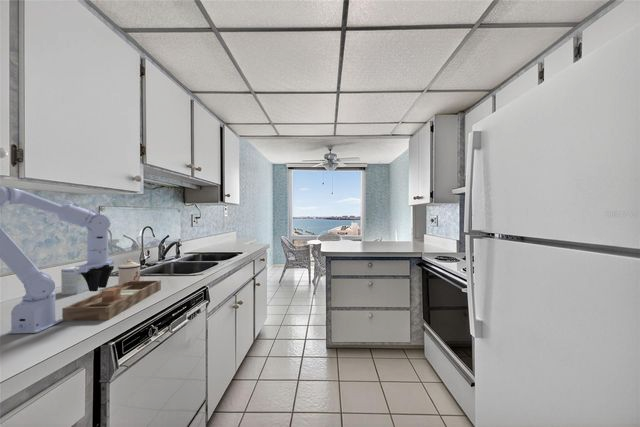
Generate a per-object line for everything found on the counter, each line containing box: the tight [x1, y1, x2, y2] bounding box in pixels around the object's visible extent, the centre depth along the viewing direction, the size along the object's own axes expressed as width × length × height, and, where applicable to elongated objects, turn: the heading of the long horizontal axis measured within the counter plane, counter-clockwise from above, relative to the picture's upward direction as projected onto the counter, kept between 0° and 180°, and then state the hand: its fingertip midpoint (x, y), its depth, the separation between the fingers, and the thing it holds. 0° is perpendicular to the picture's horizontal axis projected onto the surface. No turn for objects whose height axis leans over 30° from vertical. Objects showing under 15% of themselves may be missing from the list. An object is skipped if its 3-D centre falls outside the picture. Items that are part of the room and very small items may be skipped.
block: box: [101, 287, 121, 302], centre depth 105 cm, size 4×4×4 cm
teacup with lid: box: [117, 259, 141, 285], centre depth 139 cm, size 12×9×12 cm
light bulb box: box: [60, 264, 89, 295], centre depth 126 cm, size 11×7×11 cm, turn 5°
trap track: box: [61, 280, 162, 322], centre depth 110 cm, size 36×14×4 cm, turn 5°
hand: (98, 289), depth 98 cm, fingers open, 4 cm apart
